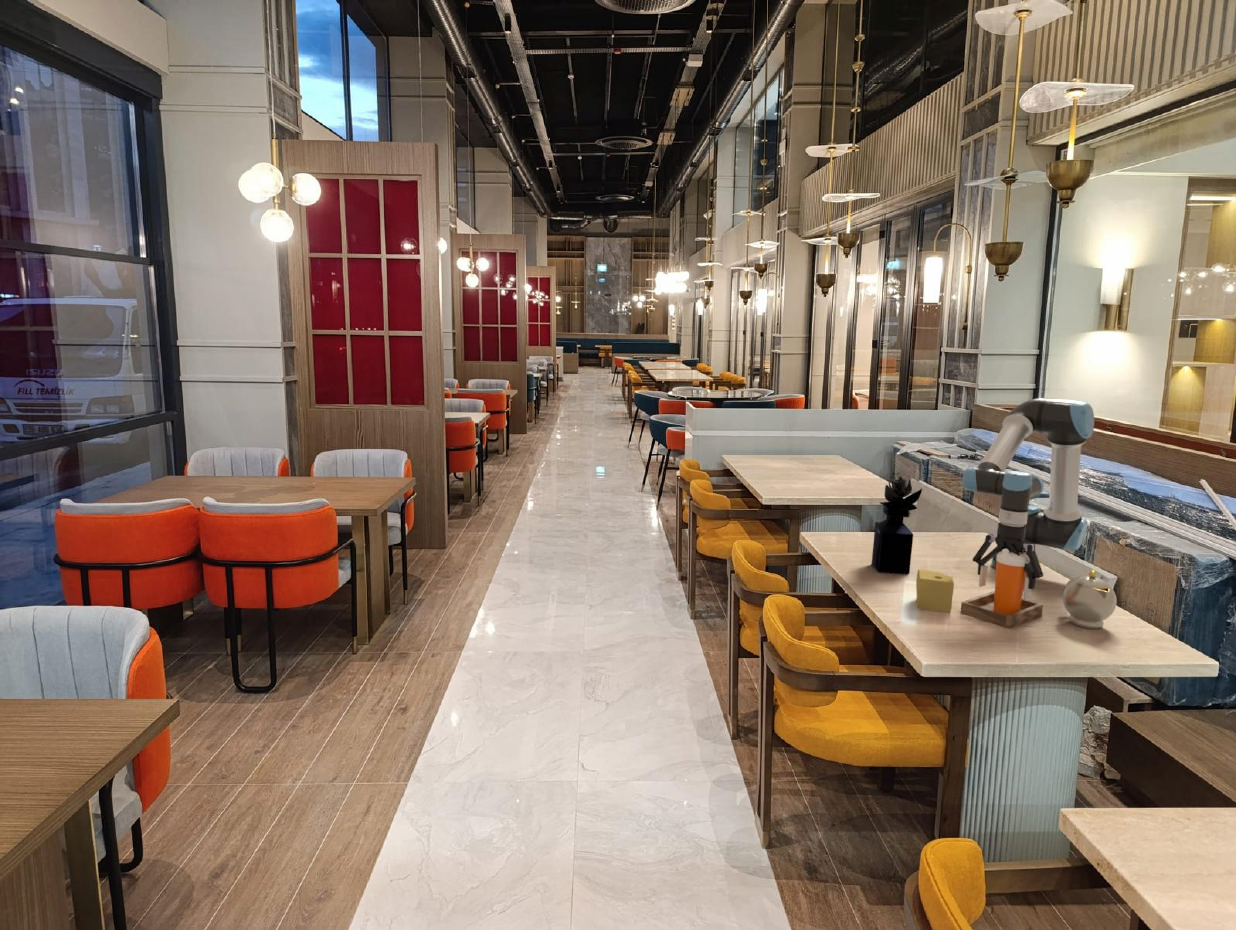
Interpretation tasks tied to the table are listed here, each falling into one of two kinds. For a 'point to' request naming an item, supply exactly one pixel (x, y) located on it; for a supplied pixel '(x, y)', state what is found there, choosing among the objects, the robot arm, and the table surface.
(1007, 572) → the shaker bottle
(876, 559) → the vase
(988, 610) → the tray
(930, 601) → the cheese
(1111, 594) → the teapot
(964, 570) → the table surface
